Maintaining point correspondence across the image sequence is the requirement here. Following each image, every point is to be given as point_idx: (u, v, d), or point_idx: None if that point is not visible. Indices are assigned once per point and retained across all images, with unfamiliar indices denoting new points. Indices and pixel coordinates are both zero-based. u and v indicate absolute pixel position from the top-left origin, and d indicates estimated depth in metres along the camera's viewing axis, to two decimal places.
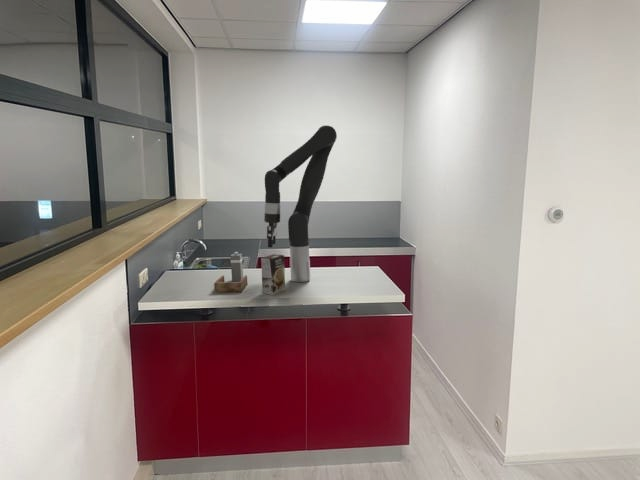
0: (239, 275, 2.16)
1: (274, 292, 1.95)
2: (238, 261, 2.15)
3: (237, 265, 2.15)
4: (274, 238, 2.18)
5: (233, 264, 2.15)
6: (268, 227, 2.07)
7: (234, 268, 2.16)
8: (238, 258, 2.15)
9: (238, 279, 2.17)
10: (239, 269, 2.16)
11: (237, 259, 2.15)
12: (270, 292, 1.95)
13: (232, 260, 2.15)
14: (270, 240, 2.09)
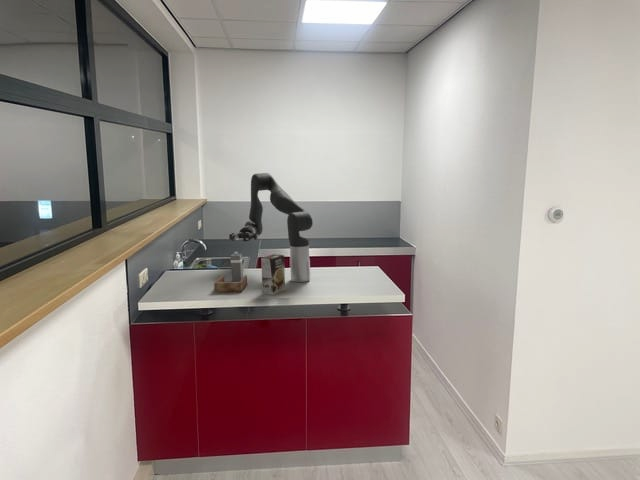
0: (239, 275, 2.16)
1: (274, 292, 1.95)
2: (238, 261, 2.15)
3: (237, 265, 2.15)
4: (249, 236, 2.29)
5: (233, 264, 2.15)
6: None
7: (234, 268, 2.16)
8: (238, 258, 2.15)
9: (238, 279, 2.17)
10: (239, 269, 2.16)
11: (237, 259, 2.15)
12: (270, 292, 1.95)
13: (232, 260, 2.15)
14: (231, 237, 2.30)
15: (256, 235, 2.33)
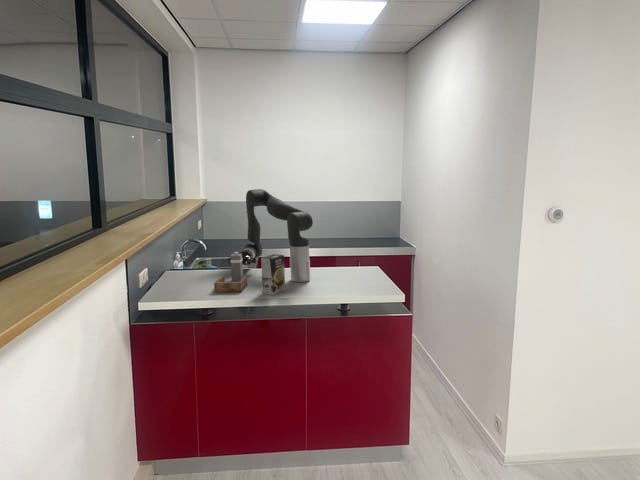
0: (239, 275, 2.16)
1: (274, 292, 1.95)
2: (238, 261, 2.15)
3: (237, 265, 2.15)
4: (248, 260, 2.26)
5: (233, 264, 2.15)
6: None
7: (234, 268, 2.16)
8: (238, 258, 2.15)
9: (238, 279, 2.17)
10: (239, 269, 2.16)
11: (237, 259, 2.15)
12: (270, 292, 1.95)
13: (232, 260, 2.15)
14: None
15: (255, 259, 2.29)
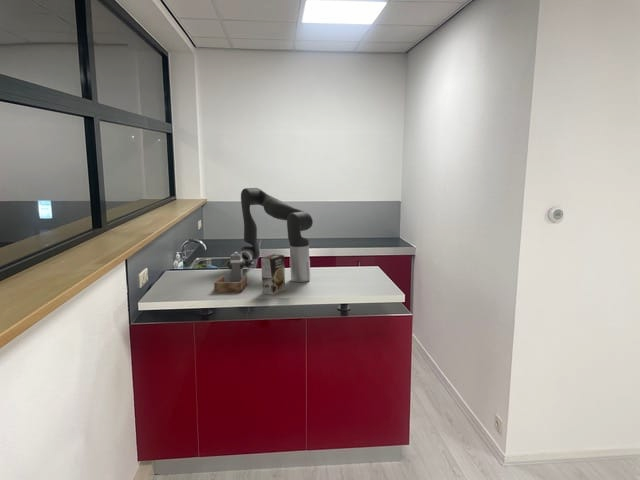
0: (239, 275, 2.16)
1: (274, 292, 1.95)
2: (238, 261, 2.15)
3: (237, 265, 2.15)
4: (241, 264, 2.18)
5: (233, 264, 2.15)
6: None
7: (234, 268, 2.16)
8: (238, 258, 2.15)
9: (238, 278, 2.17)
10: (239, 269, 2.16)
11: (237, 259, 2.15)
12: (270, 292, 1.95)
13: (232, 260, 2.15)
14: None
15: (250, 262, 2.21)
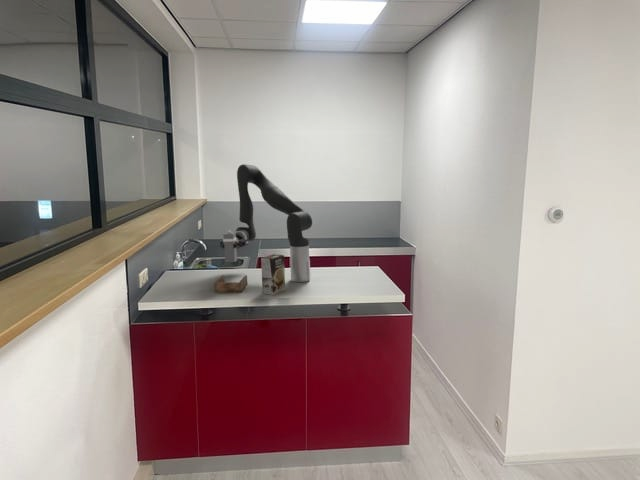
0: (232, 255, 2.03)
1: (274, 292, 1.95)
2: (231, 240, 2.02)
3: (230, 244, 2.02)
4: None
5: (226, 243, 2.02)
6: None
7: (227, 247, 2.02)
8: (231, 237, 2.01)
9: (231, 259, 2.03)
10: (232, 248, 2.02)
11: (230, 238, 2.01)
12: (270, 292, 1.95)
13: (225, 239, 2.02)
14: (222, 244, 2.05)
15: (244, 242, 2.08)
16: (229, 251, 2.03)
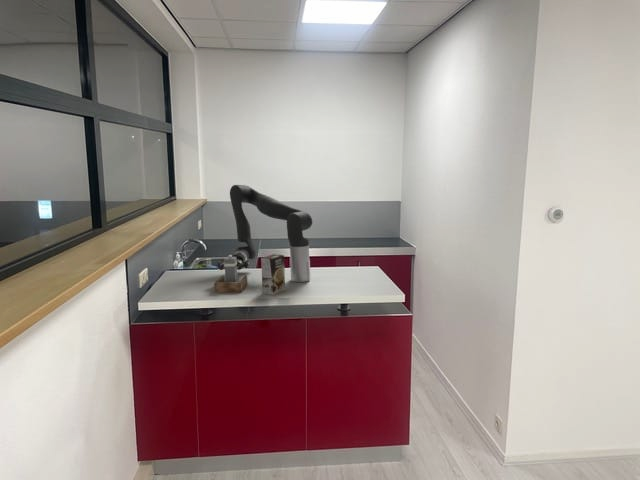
0: (233, 280, 2.03)
1: (274, 292, 1.95)
2: (232, 265, 2.02)
3: (231, 269, 2.02)
4: None
5: (227, 268, 2.02)
6: None
7: (228, 272, 2.03)
8: (232, 262, 2.02)
9: None
10: (233, 273, 2.03)
11: (231, 263, 2.02)
12: (270, 292, 1.95)
13: (226, 264, 2.02)
14: None
15: (247, 263, 2.09)
16: (230, 276, 2.03)
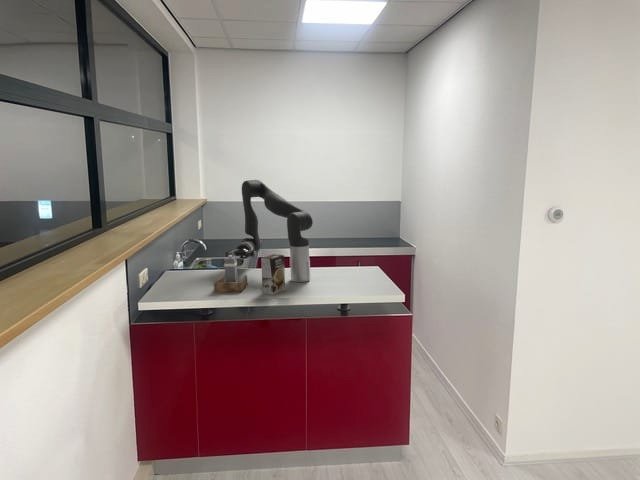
0: (233, 280, 2.03)
1: (274, 292, 1.95)
2: (232, 265, 2.02)
3: (231, 269, 2.02)
4: None
5: (227, 268, 2.02)
6: None
7: (228, 272, 2.03)
8: (232, 262, 2.02)
9: None
10: (233, 273, 2.03)
11: (231, 263, 2.02)
12: (270, 292, 1.95)
13: (226, 264, 2.02)
14: (228, 254, 2.20)
15: (254, 252, 2.23)
16: (230, 276, 2.03)
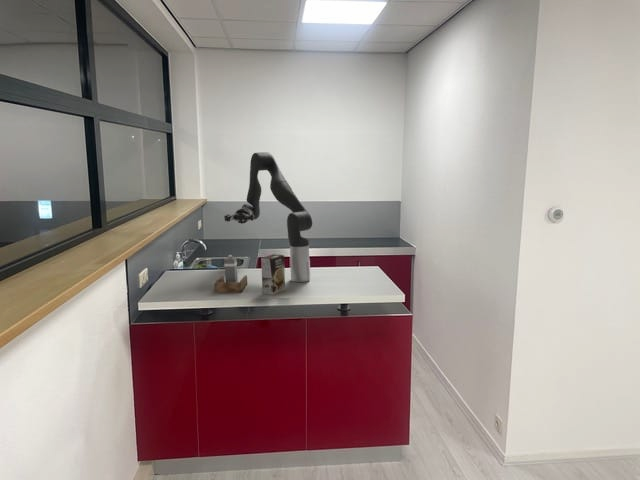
0: (233, 280, 2.03)
1: (274, 292, 1.95)
2: (232, 265, 2.02)
3: (231, 269, 2.02)
4: None
5: (227, 268, 2.02)
6: None
7: (228, 272, 2.03)
8: (232, 262, 2.02)
9: None
10: (233, 273, 2.03)
11: (231, 263, 2.02)
12: (270, 292, 1.95)
13: (226, 264, 2.02)
14: (227, 218, 2.20)
15: (253, 216, 2.22)
16: (230, 276, 2.03)
